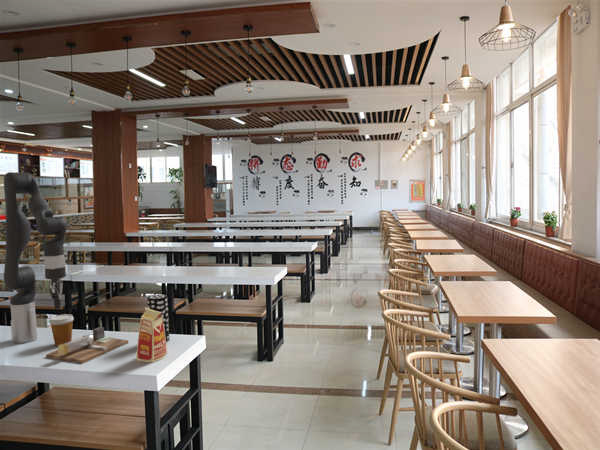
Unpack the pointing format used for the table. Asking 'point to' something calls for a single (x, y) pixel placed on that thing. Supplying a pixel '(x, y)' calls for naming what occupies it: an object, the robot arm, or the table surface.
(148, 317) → the milk carton
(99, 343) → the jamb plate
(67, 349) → the swing bar
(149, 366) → the table surface
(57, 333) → the disposable coffee cup
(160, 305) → the spotted tube
